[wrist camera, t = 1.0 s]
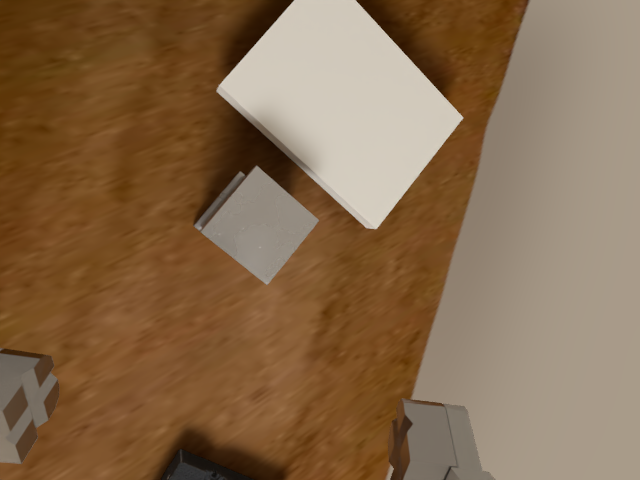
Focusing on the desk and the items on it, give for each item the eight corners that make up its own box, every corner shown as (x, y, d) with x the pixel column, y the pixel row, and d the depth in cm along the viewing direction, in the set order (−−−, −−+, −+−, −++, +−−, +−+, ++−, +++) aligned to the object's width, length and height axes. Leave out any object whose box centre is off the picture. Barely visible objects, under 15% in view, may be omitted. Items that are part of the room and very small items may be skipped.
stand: (213, 96, 38) (219, 85, 35) (308, -12, 40) (324, -34, 36) (357, 226, 43) (376, 229, 39) (437, 124, 45) (463, 117, 41)
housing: (193, 225, 39) (200, 231, 31) (238, 171, 39) (256, 165, 32) (247, 268, 40) (267, 285, 33) (290, 216, 41) (319, 220, 34)
